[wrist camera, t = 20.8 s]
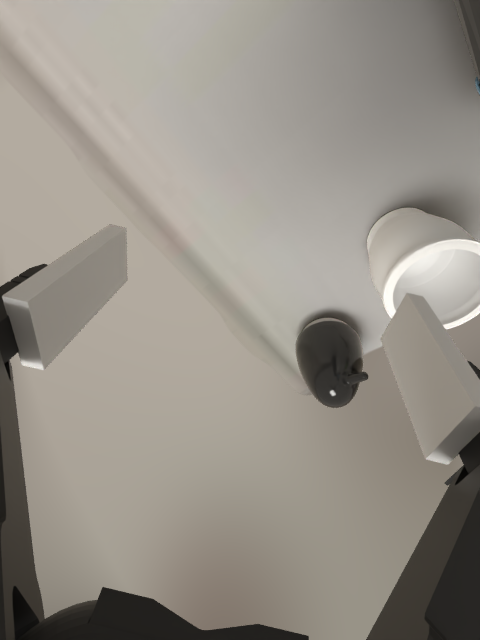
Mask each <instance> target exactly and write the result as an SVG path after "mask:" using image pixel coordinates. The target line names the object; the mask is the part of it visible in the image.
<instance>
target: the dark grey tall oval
mask: <svg viewBox="0 0 480 640" xmlns="http://www.w3.org/2000/svg"><path fill="white" fill-rule="evenodd" d="M296 357H297V361H298V365H299V369H300V372H301V374H302V377H303V379H304V381H305V383H306V385H307V387H308V388H309V390H310V391H311V393H312V394H313V395H314V397H315V398H316V399H317V400H318V401H319V402H321V403H322V404H323V405H325V406H327V407H331V408H339V407H343V406H345V405H347V404H348V403H349V402H350V401H351V400H352V399H353V397H354V396H355V394H356V392H357V390H358V387H359V384H360V382H362V381H365V380H367V379H368V374H367V373H366V372H362V369H363V348H362V343H361V339H360V337H359V335H358V333H357V332H356V331H355V330H354V329H353V328H352V327H350V326H349V325H348V324H346V323H345V322H343V321H341V320H338V319H335V318H321V319H318V320H315V321H313V322H311V323H310V324H308V325H307V326H306V327H305V328H304V329H303V331H302V332H301V334H300V335H299V337H298V339H297V341H296Z"/></svg>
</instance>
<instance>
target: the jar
mask: <svg viewBox="0 0 480 640" xmlns="http://www.w3.org/2000/svg"><path fill="white" fill-rule="evenodd" d="M367 250H368V253H369V267H370V275H371V279H372V282H373V284H374V287H375V289H376V290H377V292H378V294H379V295H380V297H381V298H382V301H383V305H384V308H385V310H386V312H387V313H388V315H389V316H390V317H391V318H393V316H394V314H395V312H396V311H397V309H398V307H399V305H400V304H401V302H402V300H403V298H404V297H405V295H406V293H411V294H415V295H420V296H423V297H424V298H425V300H426V301H427V303H428V304H429V306H430V307H431V309H432V310H433V312H434V313H435V314H436V316H437V317H438V319H439V320H440V322H441V323H442V325H443V326H444V328H445V329H450V328H453V327H456V326H458V325H461V324H463V323H465V322H467V321H469V320H470V319H472V318H473V317H475V316H476V315H478V314H479V313H480V242H478V241H476V240H474V238H473V237H472V236H471V235H470V234H469V233H468V232H467V231H466V230H464V229H463V228H462V227H460V226H459V225H457V224H456V223H454V222H452V221H450V220H447V219H445V218H442V217H438V216H435V215H432V214H428V213H425V212H424V211H422V210H419V209H416V208H400V209H396V210H394V211H391V212H389V213H387V214H386V215H384V216H383V217H381V218H380V219H379V220H378V221H377V222H376V223H375V224H374V226H373V227H372V229H371V230H370V232H369V235H368V238H367Z"/></svg>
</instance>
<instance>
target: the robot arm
mask: <svg viewBox="0 0 480 640" xmlns="http://www.w3.org/2000/svg"><path fill="white" fill-rule="evenodd" d="M454 3H455V6H456V9H457V12H458V16H459V19H460V22H461V25H462V29H463V32H464V35H465V38H466V42H467V45H468V48H469V51H470V55H471V58H472V61H473V64H474V68H475V71H476V74H477V77H476V79H475V84H476V89H477V92H478V93H479V95H480V0H454ZM126 240H127V239H126V228H125V227H120V226H116V225H112V224H109V225H108V226H106V227H105V228H103V229H102V230H101V231H99V232H97V233H96V234H94V235H93V236H91V237H90V238H88V239H87V240H85V241H84V242H82V243H81V244H79V245H78V246H76V247H75V248H73V249H72V250H70V251H69V252H67V253H66V254H64V255H63V256H61V257H60V258H58V259H57V260H55V261H54V262H52V263H51V264H49V265H46V264H42V265H39V266H35V267H32V268H29V269H28V270H26V271H25V272H23V273H21V274H20V275H19V276H17V277H15V278H13V279H12V280H11V282H7V283H5V284H4V285H2V286H1V287H0V640H309V637H308V636H306V635H302V634H298V633H294V632H289V631H285V630H281V629H277V628H273V627H268V626H264V625H260V624H254V625H246V626H238V627H230V628H223V629H216V630H201V629H198V628H197V627H195V626H193V625H192V624H190V623H189V622H187V621H186V620H184V619H183V618H181V617H180V616H178V615H177V614H175V613H174V612H172V611H170V610H169V609H167V608H166V607H164V606H163V605H161V604H160V603H158V602H157V601H155V600H154V599H151V598H147V597H142V596H138V595H134V594H129V593H126V592H121V591H117V590H113V589H109V588H104V587H103V588H102V590H101V593H100V595H99V598H98V600H93V601H87V602H83V603H79V604H76V605H73V606H71V607H68V608H66V609H63V610H61V611H59V612H57V613H55V614H53V615H51V616H50V617H48V618H46V619H45V618H44V611H43V604H42V598H41V593H40V589H39V585H38V581H37V577H36V571H35V564H34V556H33V547H32V539H31V530H30V521H29V513H28V504H27V495H26V486H25V478H24V469H23V461H22V453H21V443H20V435H19V426H18V418H17V409H16V402H15V401H16V400H15V391H14V384H13V374H12V366H11V363H10V359H11V357H13V356H14V355H15V354H16V353H17V352H18V353H19V357H20V360H21V364H22V365H24V366H29V367H33V368H37V369H41V370H44V369H45V368H46V367H47V366H48V365H49V364H50V363H51V362H52V361H53V360H54V359H55V358H56V357H57V356H58V354H59V353H60V352H61V351H62V350H63V349H64V348H65V347H66V346H67V345H68V344H69V343H70V342H71V340H72V339H73V338H74V337H75V336H76V335H77V334H78V333H79V332H80V331H81V330H82V329H83V328H84V327H85V325H86V324H87V323H88V322H89V321H90V320H91V319H92V318H93V317H94V316H95V315H96V314H97V313H98V311H99V310H100V309H101V308H102V307H103V306H104V305H105V304H106V303H107V302H108V301H109V299H110V298H112V296H113V295H114V294H115V293H116V292H117V291H118V290H119V289H120V288H121V287H122V286H123V285H124V283H125V282H126V281H127V241H126ZM381 342H382V344H383V347H384V350H385V352H386V355H387V358H388V360H389V363H390V366H391V369H392V371H393V374H394V377H395V379H396V382H397V384H398V387H399V390H400V393H401V395H402V398H403V401H404V403H405V406H406V409H407V411H408V414H409V417H410V419H411V422H412V425H413V427H414V430H415V433H416V436H417V438H418V441H419V443H420V446H421V449H422V452H423V454H424V457H425V459H426V460H430V461H435V462H439V463H443V464H449V463H450V462H451V461H452V460H453V459H454V458H455V457H456V456H457V455H458V454H459V455H460V457H461V459H462V462H463V464H464V465H463V466H462V467H461V468H460V469H459V470H458V471H457V472H456V473H455V474H454V475H452V476H451V478H449V479H448V480H447V481H446V482H445V484H446V485H449V484H450V485H449V487H448V489H447V491H446V493H445V495H444V497H443V498H442V500H441V502H440V504H439V506H438V508H437V510H436V511H435V513H434V515H433V517H432V519H431V521H430V522H429V524H428V526H427V528H426V530H425V532H424V534H423V535H422V537H421V539H420V541H419V543H418V545H417V546H416V548H415V550H414V552H413V554H412V556H411V558H410V560H409V561H408V563H407V565H406V567H405V569H404V571H403V572H402V574H401V576H400V578H399V580H398V582H397V584H396V585H395V587H394V589H393V591H392V593H391V595H390V596H389V598H388V600H387V602H386V604H385V606H384V608H383V610H382V611H381V613H380V615H379V617H378V619H377V621H376V622H375V624H374V626H373V628H372V630H371V632H370V634H369V635H368V637H367V639H366V640H480V370H479V369H478V368H477V367H476V366H475V365H473V364H472V363H471V362H469V361H467V360H466V359H465V357H464V356H463V355H462V353H461V351H460V350H459V349H458V347H457V346H456V344H455V343H454V341H453V340H452V338H451V337H450V335H449V334H448V332H447V331H446V329H445V328H444V326H443V325H442V323H441V322H440V320H439V319H438V317H437V316H436V314H435V313H434V312H433V310H432V309H431V307H430V306H429V304H428V303H427V301H426V300H425V298H424V297H423V296H420V295H415V294H411V293H406V295H405V297H404V298H403V300H402V302H401V304H400V305H399V307H398V309H397V311H396V312H395V314H394V316H393V318H392V319H391V321H390V323H389V325H388V326H387V328H386V330H385V332H384V334H383V335H382V337H381Z"/></svg>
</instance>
